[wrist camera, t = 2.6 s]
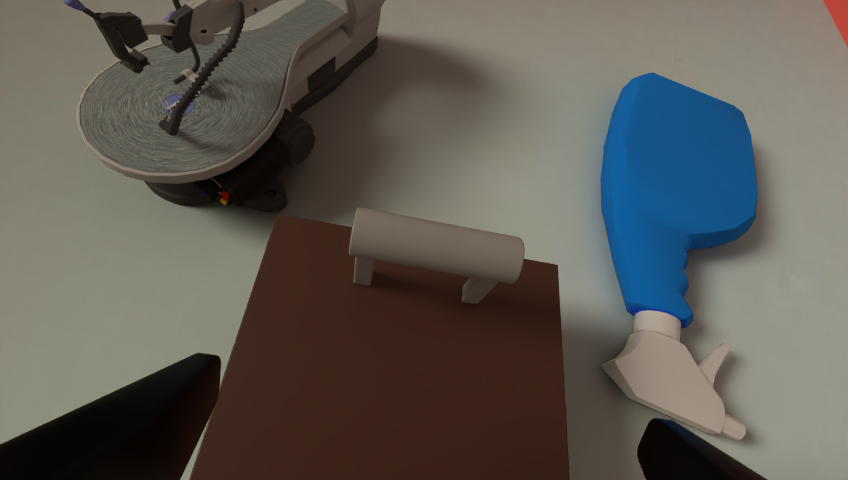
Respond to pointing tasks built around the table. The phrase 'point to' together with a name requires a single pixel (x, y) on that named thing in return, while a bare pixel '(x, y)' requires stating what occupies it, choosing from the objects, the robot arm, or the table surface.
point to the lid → (392, 359)
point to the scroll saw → (219, 94)
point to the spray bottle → (672, 234)
